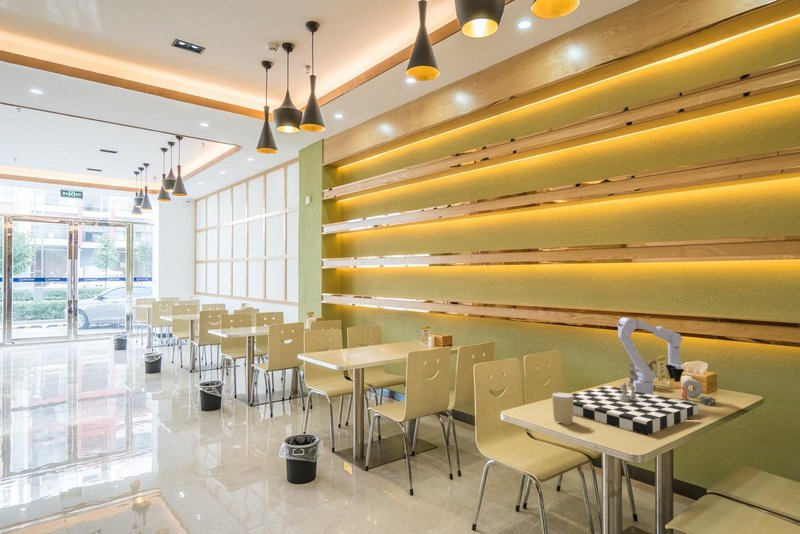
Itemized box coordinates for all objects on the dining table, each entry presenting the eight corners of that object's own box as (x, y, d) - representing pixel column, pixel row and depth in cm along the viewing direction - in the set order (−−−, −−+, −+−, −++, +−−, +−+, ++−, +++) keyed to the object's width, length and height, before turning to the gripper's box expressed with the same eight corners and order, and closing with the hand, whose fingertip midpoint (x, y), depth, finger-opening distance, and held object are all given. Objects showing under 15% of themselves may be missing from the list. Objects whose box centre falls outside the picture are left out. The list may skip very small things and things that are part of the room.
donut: (703, 398, 240) (703, 379, 240) (701, 399, 238) (701, 380, 238) (682, 395, 248) (682, 376, 248) (680, 396, 245) (680, 377, 246)
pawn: (681, 400, 233) (681, 385, 233) (679, 398, 236) (679, 384, 237) (689, 400, 232) (689, 385, 232) (687, 398, 236) (686, 384, 236)
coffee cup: (578, 422, 202) (578, 395, 202) (564, 426, 197) (564, 398, 197) (562, 417, 210) (561, 391, 210) (547, 420, 205) (547, 393, 205)
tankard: (640, 389, 260) (640, 363, 260) (623, 384, 272) (622, 359, 272) (666, 386, 266) (666, 361, 267) (648, 382, 278) (648, 357, 279)
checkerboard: (646, 436, 185) (646, 400, 186) (555, 410, 223) (554, 380, 223) (698, 417, 210) (697, 385, 210) (608, 396, 248) (607, 369, 248)
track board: (689, 411, 218) (689, 408, 218) (674, 399, 238) (674, 397, 238) (706, 412, 216) (706, 409, 216) (689, 400, 236) (689, 398, 236)
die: (704, 407, 223) (704, 398, 223) (700, 405, 228) (700, 396, 228) (715, 408, 222) (714, 399, 222) (711, 405, 227) (710, 396, 227)
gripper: (687, 357, 235) (688, 383, 234) (677, 352, 249) (678, 377, 248) (672, 356, 236) (672, 382, 236) (663, 352, 250) (664, 376, 250)
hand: (674, 380), depth 242 cm, fingers open, 7 cm apart
